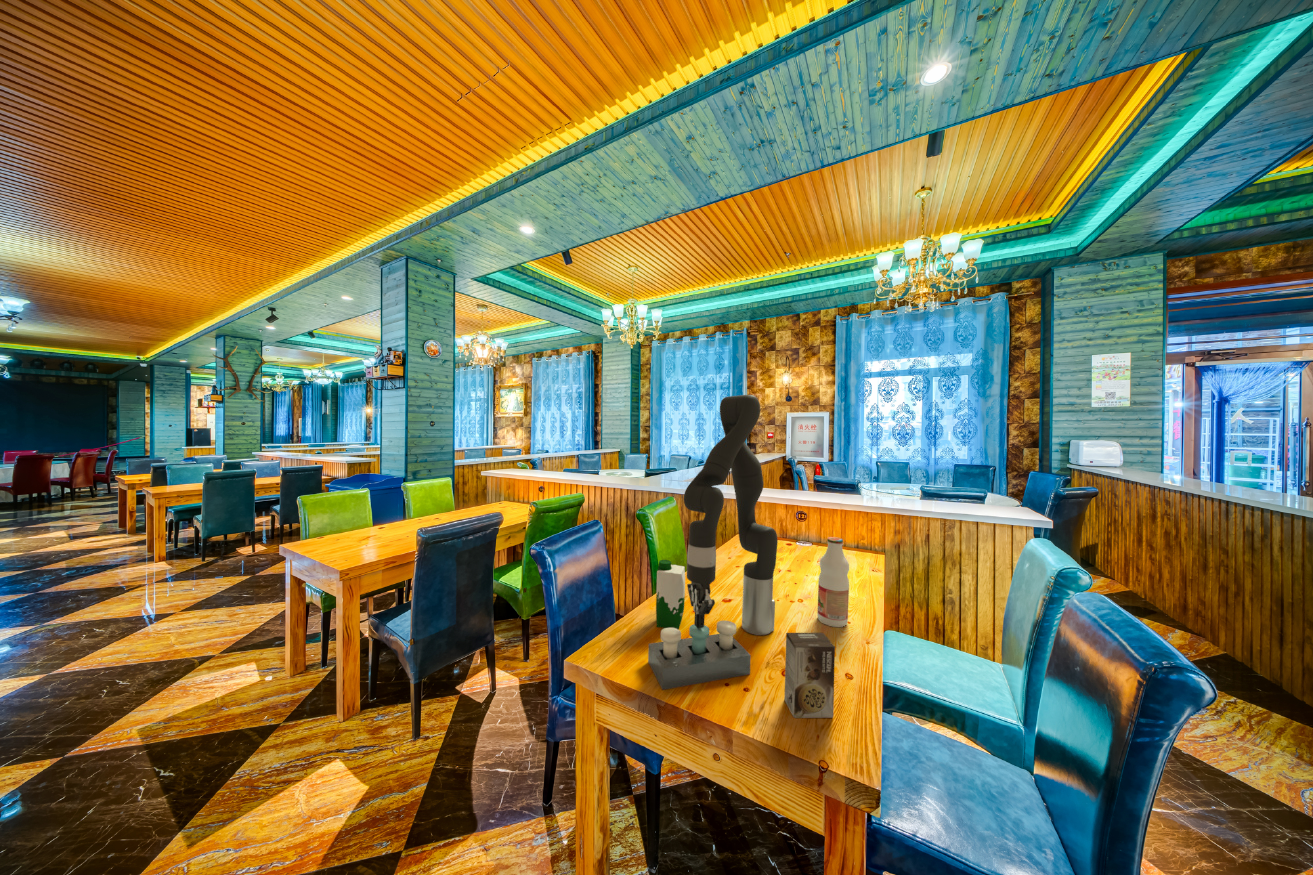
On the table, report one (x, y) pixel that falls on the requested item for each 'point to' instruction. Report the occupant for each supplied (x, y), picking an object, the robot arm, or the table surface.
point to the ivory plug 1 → (670, 642)
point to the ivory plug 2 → (726, 634)
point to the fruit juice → (833, 585)
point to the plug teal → (698, 639)
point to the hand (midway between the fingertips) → (699, 626)
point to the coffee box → (809, 675)
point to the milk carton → (670, 595)
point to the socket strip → (698, 663)
